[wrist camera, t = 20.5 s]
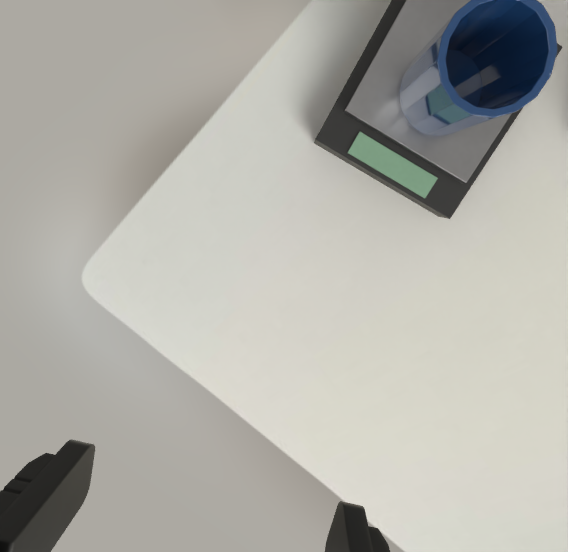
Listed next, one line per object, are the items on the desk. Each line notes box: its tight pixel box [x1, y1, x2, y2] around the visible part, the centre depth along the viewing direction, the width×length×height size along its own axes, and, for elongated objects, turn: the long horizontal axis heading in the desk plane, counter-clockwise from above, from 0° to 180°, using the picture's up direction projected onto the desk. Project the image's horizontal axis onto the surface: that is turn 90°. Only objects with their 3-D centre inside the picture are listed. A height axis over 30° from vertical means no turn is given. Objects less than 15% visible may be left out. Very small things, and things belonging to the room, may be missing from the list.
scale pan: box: [344, 0, 512, 183], centre depth 32 cm, size 12×12×1 cm
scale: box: [314, 0, 562, 219], centre depth 34 cm, size 14×16×3 cm
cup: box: [399, 0, 557, 136], centre depth 27 cm, size 7×7×9 cm
